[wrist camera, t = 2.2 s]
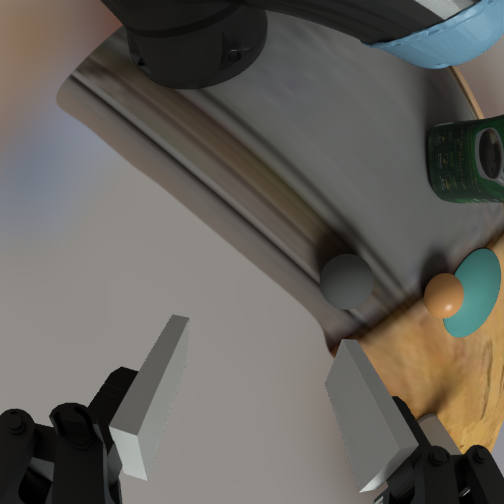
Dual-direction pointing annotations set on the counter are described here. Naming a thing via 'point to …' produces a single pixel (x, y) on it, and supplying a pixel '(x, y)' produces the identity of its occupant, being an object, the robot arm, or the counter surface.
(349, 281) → the dark gray ball
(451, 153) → the coffee jar
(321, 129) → the counter surface
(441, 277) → the orange ball
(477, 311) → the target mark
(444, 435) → the travel mug
